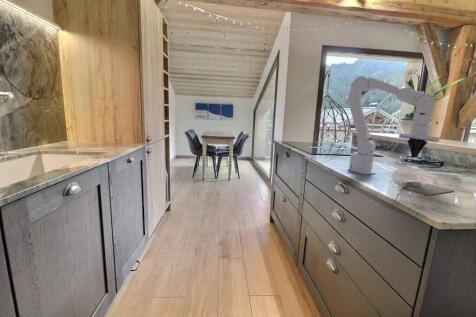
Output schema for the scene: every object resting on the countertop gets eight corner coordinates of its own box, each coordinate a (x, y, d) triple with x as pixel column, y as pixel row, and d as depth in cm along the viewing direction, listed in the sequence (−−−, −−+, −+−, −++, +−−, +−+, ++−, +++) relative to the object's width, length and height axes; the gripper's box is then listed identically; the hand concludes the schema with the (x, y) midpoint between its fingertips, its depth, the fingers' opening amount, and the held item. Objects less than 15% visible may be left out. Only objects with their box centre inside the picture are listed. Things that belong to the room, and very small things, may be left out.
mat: (402, 187, 92) (402, 186, 92) (427, 184, 98) (427, 183, 98) (428, 195, 84) (428, 194, 84) (453, 191, 90) (454, 190, 90)
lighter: (417, 181, 96) (425, 184, 89) (416, 185, 96) (424, 189, 89) (397, 178, 98) (403, 181, 91) (396, 182, 99) (402, 186, 91)
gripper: (447, 126, 93) (439, 160, 96) (408, 123, 106) (403, 153, 109) (436, 125, 91) (428, 160, 93) (398, 123, 104) (392, 154, 106)
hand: (414, 157), depth 101 cm, fingers closed
